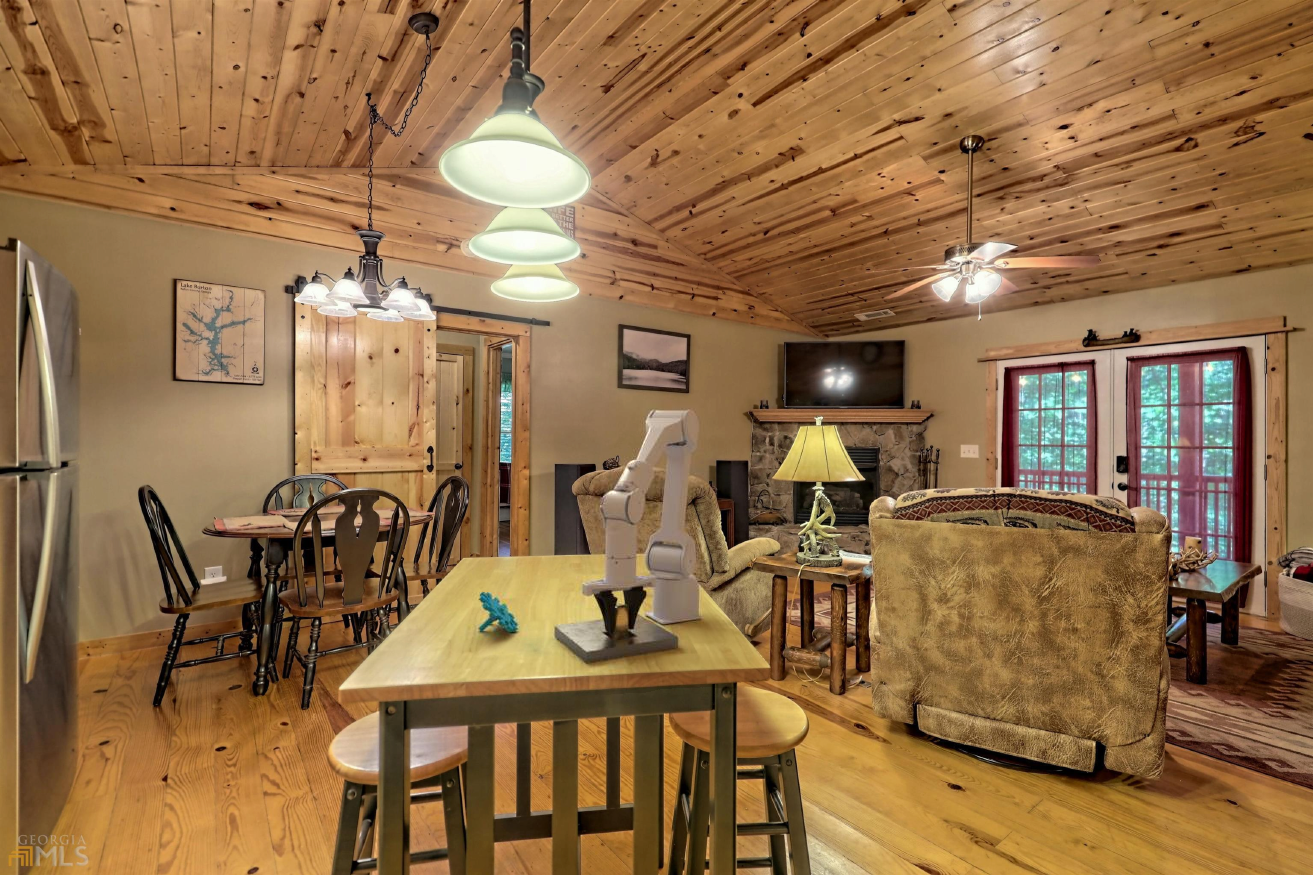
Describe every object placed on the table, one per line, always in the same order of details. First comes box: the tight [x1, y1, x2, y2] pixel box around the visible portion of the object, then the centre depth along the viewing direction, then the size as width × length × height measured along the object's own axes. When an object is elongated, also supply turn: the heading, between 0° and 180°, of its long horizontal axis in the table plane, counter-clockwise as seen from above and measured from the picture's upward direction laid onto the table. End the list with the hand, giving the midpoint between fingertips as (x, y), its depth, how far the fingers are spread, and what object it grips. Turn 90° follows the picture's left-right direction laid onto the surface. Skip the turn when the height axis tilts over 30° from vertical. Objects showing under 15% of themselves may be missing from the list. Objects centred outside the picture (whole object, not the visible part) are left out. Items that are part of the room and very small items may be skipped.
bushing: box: [609, 603, 629, 640], centre depth 117 cm, size 4×4×6 cm
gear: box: [478, 591, 519, 633], centre depth 124 cm, size 11×6×10 cm
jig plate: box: [553, 613, 679, 664], centre depth 118 cm, size 18×16×2 cm
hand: (619, 629), depth 116 cm, fingers closed on bushing, 4 cm apart
